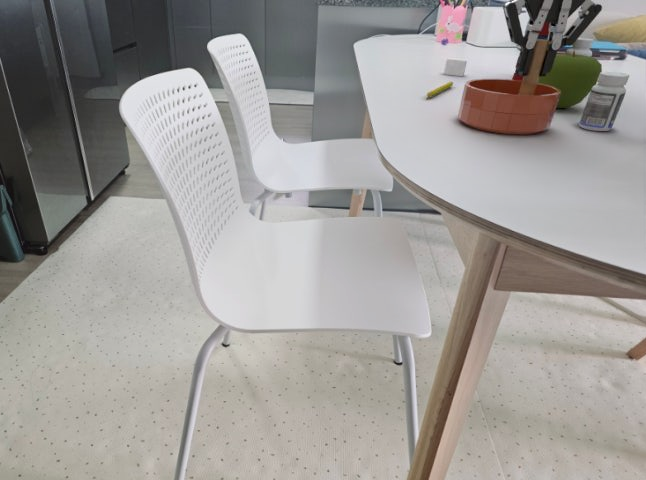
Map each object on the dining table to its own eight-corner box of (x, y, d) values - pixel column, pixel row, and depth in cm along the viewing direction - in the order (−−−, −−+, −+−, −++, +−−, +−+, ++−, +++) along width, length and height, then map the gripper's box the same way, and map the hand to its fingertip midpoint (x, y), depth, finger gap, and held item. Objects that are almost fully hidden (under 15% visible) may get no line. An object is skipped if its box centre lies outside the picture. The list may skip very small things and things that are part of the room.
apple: (549, 114, 85) (568, 54, 80) (515, 101, 94) (530, 47, 88) (601, 113, 86) (624, 54, 81) (563, 100, 95) (581, 46, 90)
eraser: (444, 73, 121) (447, 58, 119) (463, 75, 120) (467, 59, 118) (443, 74, 121) (446, 59, 119) (462, 76, 119) (466, 60, 117)
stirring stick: (523, 119, 78) (547, 39, 71) (527, 122, 76) (551, 40, 70) (509, 118, 78) (531, 38, 72) (513, 122, 76) (536, 40, 70)
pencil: (448, 86, 106) (448, 81, 106) (452, 86, 106) (453, 81, 105) (423, 98, 94) (424, 93, 94) (428, 98, 94) (429, 93, 93)
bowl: (533, 116, 83) (544, 80, 80) (561, 138, 72) (575, 97, 68) (451, 112, 85) (458, 77, 82) (465, 133, 73) (475, 93, 70)
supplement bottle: (582, 88, 107) (599, 40, 102) (556, 86, 109) (571, 39, 104) (579, 84, 112) (594, 38, 106) (554, 82, 113) (568, 37, 108)
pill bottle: (596, 123, 80) (616, 70, 75) (617, 131, 76) (640, 75, 71) (571, 124, 79) (590, 71, 74) (592, 132, 75) (613, 76, 71)
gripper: (525, -63, 62) (491, 77, 71) (638, -62, 60) (588, 81, 69) (510, -59, 68) (480, 70, 77) (612, -58, 66) (569, 73, 76)
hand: (532, 74), depth 73 cm, fingers closed on stirring stick, 2 cm apart
